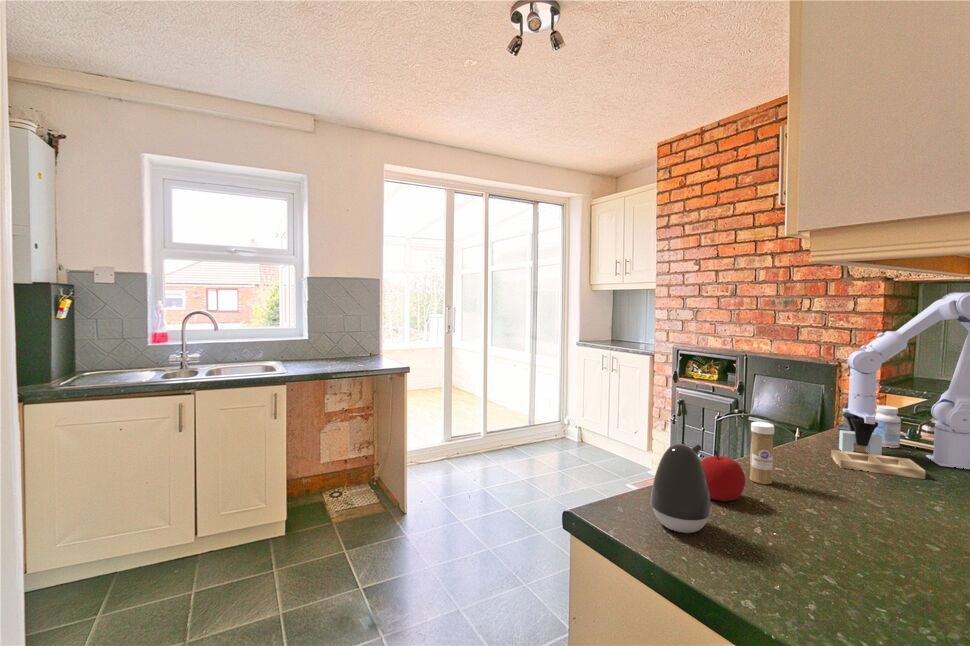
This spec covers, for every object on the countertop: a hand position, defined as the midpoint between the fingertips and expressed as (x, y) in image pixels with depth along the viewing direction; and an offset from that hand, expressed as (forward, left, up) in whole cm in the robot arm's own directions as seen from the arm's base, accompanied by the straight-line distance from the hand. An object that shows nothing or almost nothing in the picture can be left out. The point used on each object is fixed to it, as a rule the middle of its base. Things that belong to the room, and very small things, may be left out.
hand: (860, 443), depth 124 cm
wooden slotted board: (0, +12, -3) cm, 12 cm away
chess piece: (-1, -14, -3) cm, 14 cm away
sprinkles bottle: (+27, +35, -3) cm, 44 cm away
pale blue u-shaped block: (0, 0, -3) cm, 3 cm away
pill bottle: (-9, -12, -3) cm, 15 cm away
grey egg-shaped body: (+43, +66, -3) cm, 79 cm away
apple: (+36, +49, -3) cm, 61 cm away
